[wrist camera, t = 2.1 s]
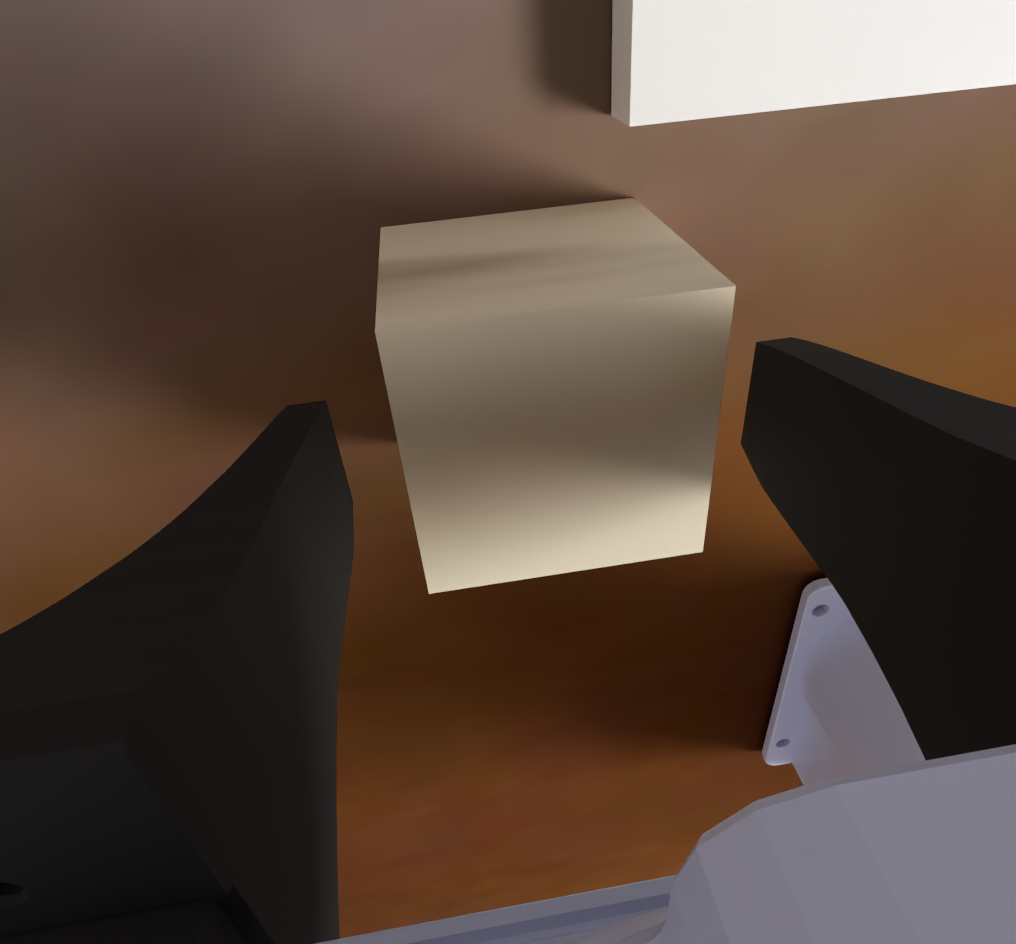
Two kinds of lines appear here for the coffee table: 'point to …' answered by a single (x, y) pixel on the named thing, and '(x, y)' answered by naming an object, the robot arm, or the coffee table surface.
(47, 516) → the coffee table surface
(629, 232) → the birch cube
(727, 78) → the plinth base
